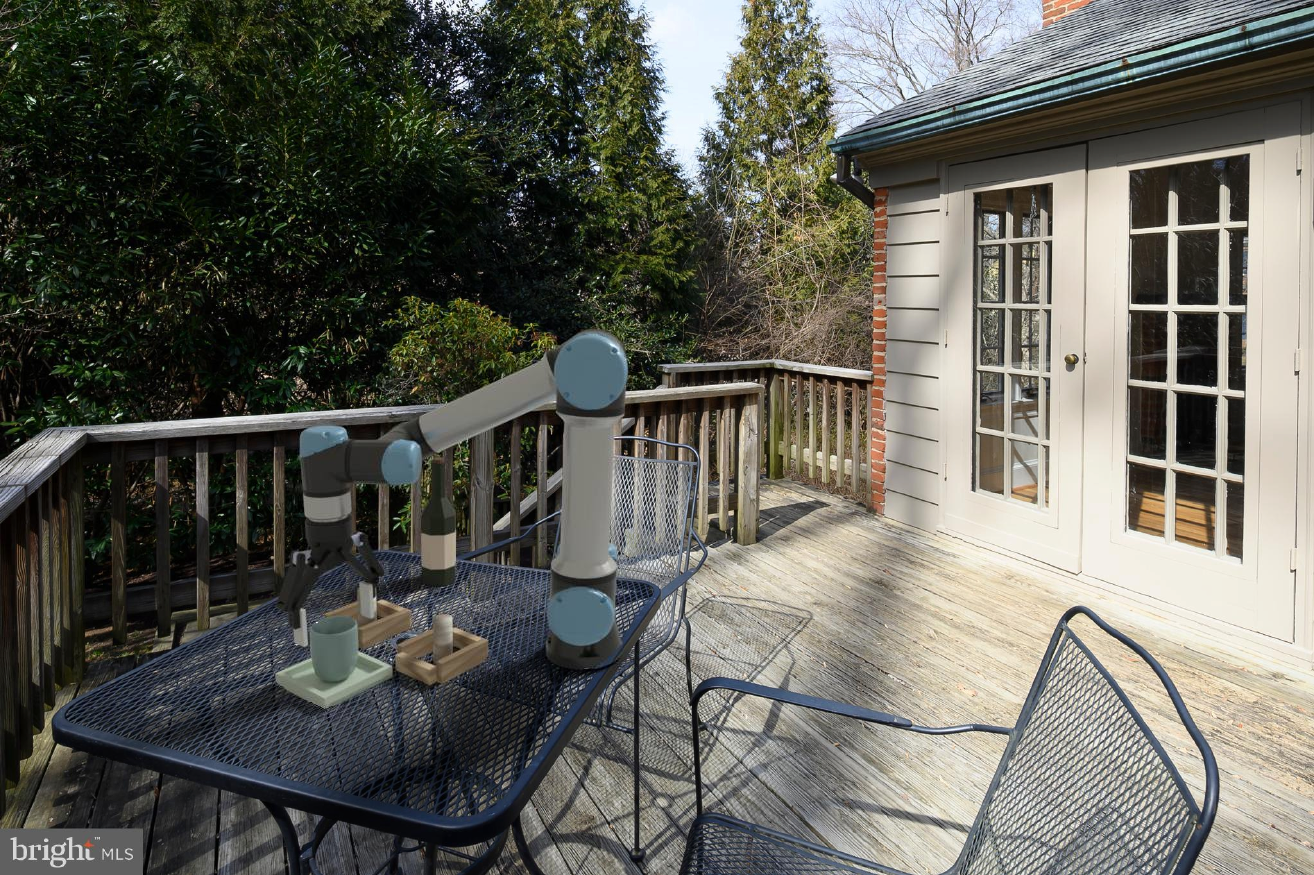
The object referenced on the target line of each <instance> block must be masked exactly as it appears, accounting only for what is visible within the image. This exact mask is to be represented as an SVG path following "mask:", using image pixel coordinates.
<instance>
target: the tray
mask: <svg viewBox="0 0 1314 875" xmlns="http://www.w3.org/2000/svg"><path fill="white" fill-rule="evenodd" d="M274 674H275V677H274V678H275V683H276V682H277V683H278V684H280V685H281V686H283V687H284V688H285V689H286V691H288V692H289V693H291V694H293V695H295V696H296V697H299V698H301V699H303V700H304V701H306V700H307V701H306V702H308V703H310V702H312V703H313V704H312V703H311V704H312V705H314V704H316V705H318V706H321V707H322V708H324V709H325V708H328V707H329V706H333V707H334V706H337V705H339V704H341V703H344V701H347V700H350V699H351V698H353V697H355V696H358V695H360V694H361V693H363V692H365V691H367V690H369V689H371V688H373V687H375V686H377V685H379V684H381V683H384V682H385V681H387V680H389V679H392V678H393V665H390V664H389V663H387V662H384V661H382V660H379V659H377V658H375V657H372V656H371V655H368V654H366V653H364V652H361V651H359V650H358V660H357V665H356V668H355V670H354V672H353V673H352V674H351V675H350V676H349V677H347V678H346V679H344V680H341V681H337V682H327V681H324V680H322V679H320V678H319V677H318V676H317V675H316V674H315V672H314V669H313V665H312V660H311V657H310V658H308V659H306V660H303V661H301V662H298V663H297V664H294V665H291V666H289V667H287V668H285V669H283V670H279V671H278V672H275V673H274ZM285 689H284V690H285ZM316 705H315V706H316ZM318 706H317V707H318ZM322 708H321V709H322ZM324 709H323V710H324Z"/></svg>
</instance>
